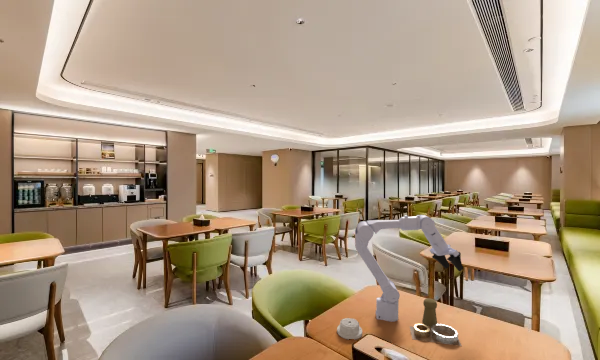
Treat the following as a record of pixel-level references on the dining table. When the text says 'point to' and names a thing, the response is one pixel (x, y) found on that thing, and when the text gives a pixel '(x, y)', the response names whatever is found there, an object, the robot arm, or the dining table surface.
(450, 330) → the wide steel ring
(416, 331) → the narrow bronze ring
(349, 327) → the mechanical component
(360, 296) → the dining table surface
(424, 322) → the olive bulbous peg
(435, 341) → the smooth grayish brown board
